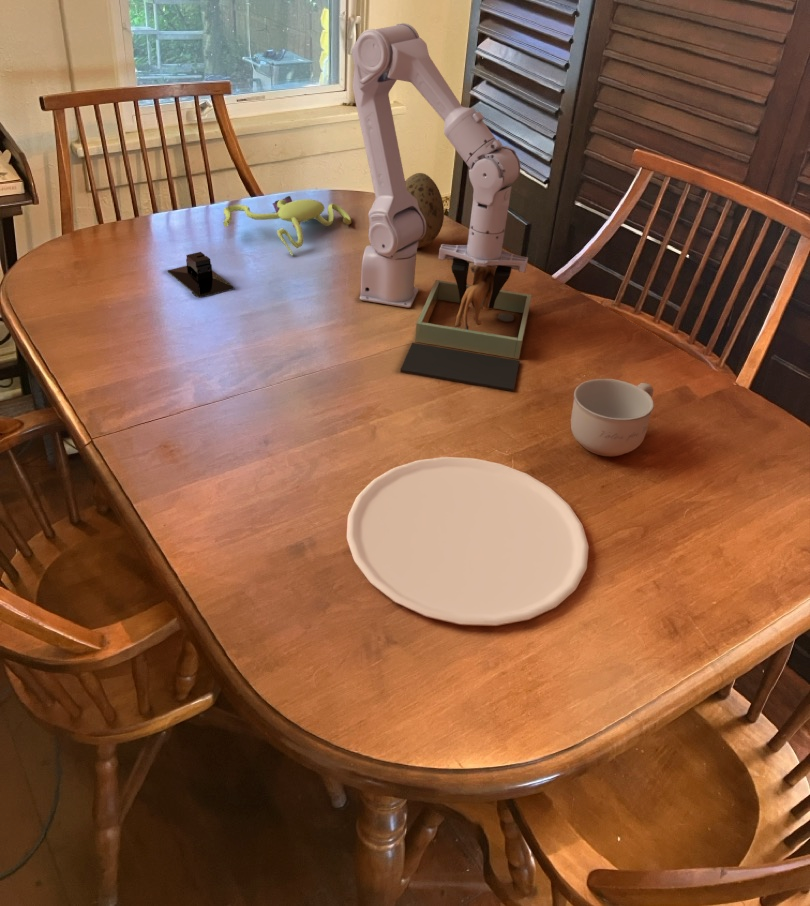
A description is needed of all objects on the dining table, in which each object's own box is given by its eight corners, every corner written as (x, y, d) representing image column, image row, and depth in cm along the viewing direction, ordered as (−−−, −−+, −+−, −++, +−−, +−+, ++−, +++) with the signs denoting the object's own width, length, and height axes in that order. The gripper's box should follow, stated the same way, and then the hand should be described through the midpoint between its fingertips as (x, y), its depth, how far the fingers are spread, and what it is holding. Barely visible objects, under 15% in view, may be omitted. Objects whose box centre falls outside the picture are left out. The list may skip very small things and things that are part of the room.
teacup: (595, 474, 109) (608, 426, 104) (549, 430, 116) (559, 384, 111) (672, 450, 114) (688, 403, 110) (623, 410, 122) (636, 365, 117)
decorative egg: (430, 260, 161) (437, 186, 152) (380, 250, 164) (384, 176, 154) (447, 242, 169) (454, 170, 160) (400, 232, 172) (404, 161, 163)
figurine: (211, 236, 163) (208, 210, 159) (292, 201, 181) (292, 176, 178) (282, 261, 156) (282, 234, 152) (360, 222, 174) (360, 197, 171)
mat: (400, 372, 126) (400, 369, 126) (412, 345, 133) (412, 342, 133) (513, 391, 124) (513, 389, 124) (519, 363, 131) (519, 360, 131)
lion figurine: (463, 293, 144) (472, 246, 139) (492, 299, 144) (502, 253, 138) (451, 332, 133) (461, 283, 127) (482, 339, 133) (493, 290, 127)
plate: (404, 663, 82) (405, 655, 81) (313, 488, 102) (313, 481, 102) (636, 590, 92) (639, 583, 91) (511, 445, 113) (512, 438, 112)
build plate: (234, 289, 145) (233, 265, 143) (197, 299, 142) (195, 274, 139) (201, 263, 153) (199, 240, 150) (165, 272, 149) (163, 248, 146)
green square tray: (414, 341, 134) (416, 323, 132) (434, 297, 148) (435, 279, 146) (518, 359, 132) (522, 340, 130) (528, 312, 146) (531, 294, 144)
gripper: (438, 229, 127) (431, 306, 135) (529, 243, 125) (516, 320, 133) (446, 214, 133) (438, 289, 141) (533, 227, 131) (520, 302, 139)
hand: (476, 303), depth 137 cm, fingers closed on lion figurine, 4 cm apart
